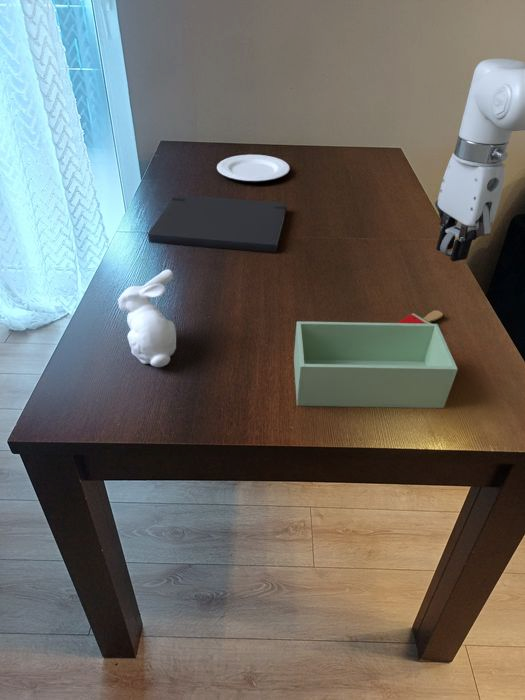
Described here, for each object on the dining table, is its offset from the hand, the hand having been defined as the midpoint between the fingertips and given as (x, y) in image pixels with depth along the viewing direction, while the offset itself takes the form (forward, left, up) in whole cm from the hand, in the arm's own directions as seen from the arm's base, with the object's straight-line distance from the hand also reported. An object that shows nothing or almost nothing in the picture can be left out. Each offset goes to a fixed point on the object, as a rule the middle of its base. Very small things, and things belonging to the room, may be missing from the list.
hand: (451, 253), depth 89 cm
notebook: (+40, +32, -9) cm, 52 cm away
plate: (+70, +14, -9) cm, 72 cm away
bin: (-18, +26, -8) cm, 33 cm away
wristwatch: (0, 0, 0) cm, 0 cm away
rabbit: (+1, +55, -9) cm, 56 cm away
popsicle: (-9, +12, -9) cm, 17 cm away
